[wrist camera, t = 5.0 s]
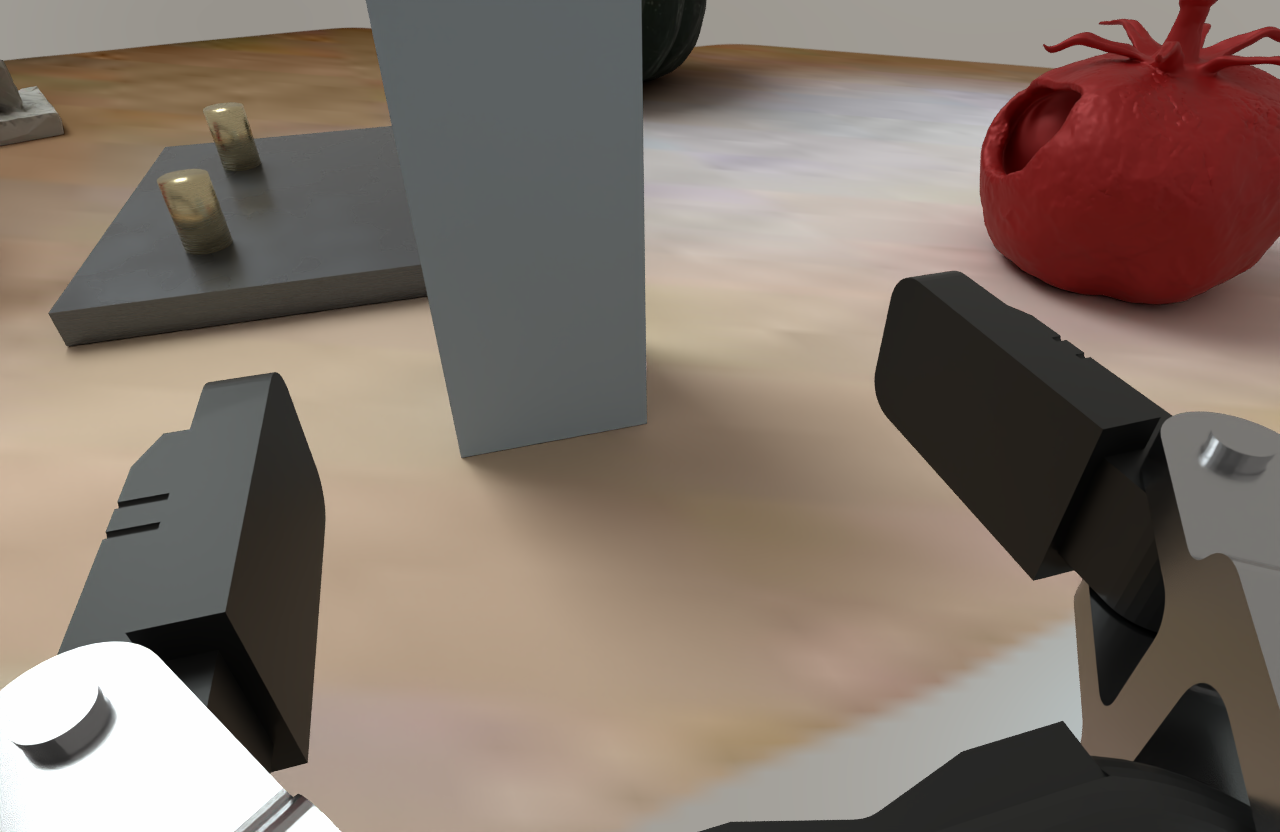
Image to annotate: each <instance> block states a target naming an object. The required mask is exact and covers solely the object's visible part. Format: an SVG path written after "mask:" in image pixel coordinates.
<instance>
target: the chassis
mask: <svg viewBox="0 0 1280 832" xmlns="http://www.w3.org/2000/svg"><path fill="white" fill-rule="evenodd" d="M203 112H204V114H205V117H206V120H207V123H208V126H209V129H210V131H211V134H212V137H213V140H214V143H205V144H194V145H184V146H173V147H165V148H164V150H163V151H162V152H161V154H160V155H159V157H158V158H157V160H156V161H155V162H154V164H153V165H152V167H151V168H150V170H149V171H148V172H147V174H146V175H145V177H144V178H143V179H142V181H141V182H140V184H139V185H138V187H137V188H136V189H135V191H134V192H133V194H132V195H131V197H130V198H129V199H128V201H127V202H126V204H125V205H124V206H123V208H122V209H121V211H120V212H119V214H118V215H117V216H116V218H115V219H114V221H113V222H112V224H111V225H110V226H109V228H108V229H107V231H106V232H105V234H104V235H103V236H102V238H101V239H100V241H99V242H98V243H97V245H96V246H95V248H94V249H93V251H92V252H91V253H90V255H89V256H88V258H87V259H86V261H85V262H84V263H83V265H82V266H81V268H80V269H79V270H78V272H77V273H76V275H75V276H74V278H73V279H72V280H71V282H70V283H69V285H68V286H67V288H66V289H65V290H64V292H63V293H62V295H61V296H60V297H59V299H58V300H57V302H56V303H55V305H54V306H53V307H52V309H51V310H50V312H49V313H48V314H49V315H50V317H51V319H52V321H53V323H54V324H55V326H56V328H57V330H58V332H59V333H60V335H61V337H62V339H63V340H64V342H65V344H66V346H72V345H79V344H86V343H93V342H100V341H107V340H115V339H122V338H129V337H136V336H143V335H150V334H158V333H165V332H172V331H179V330H186V329H193V328H200V327H208V326H215V325H222V324H229V323H236V322H243V321H250V320H258V319H265V318H272V317H279V316H286V315H293V314H301V313H308V312H315V311H322V310H329V309H336V308H343V307H351V306H358V305H365V304H372V303H379V302H386V301H393V300H401V299H408V298H415V297H422V296H427V291H426V286H425V281H424V277H423V272H422V267H421V262H420V257H419V253H418V248H417V243H416V238H415V233H414V229H413V224H412V219H411V214H410V210H409V205H408V200H407V195H406V190H405V186H404V181H403V176H402V171H401V166H400V162H399V157H398V152H397V147H396V142H395V138H394V133H393V128H392V126H388V127H377V128H366V129H355V130H345V131H334V132H323V133H312V134H302V135H291V136H280V137H269V138H259V139H254V138H253V135H252V132H251V129H250V125H249V122H248V119H247V116H246V113H245V110H244V107H243V104H241V103H221V104H215V105H211V106H208V107H206V108H204V109H203Z"/></svg>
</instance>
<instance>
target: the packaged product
mask: <svg viewBox="0 0 1280 832" xmlns="http://www.w3.org/2000/svg"><path fill="white" fill-rule="evenodd" d="M61 134H64V130H63V125H62V120H61V118H60V116H59V114H58V113H57V112H56V110H55V109H54V108H53V106H52V105H51V104H50V103H49V102H48V101H47V99H46V98H45V97H44V95H43V94H42V93H41V92H40V90H39V89H38V88H37V86H36V87H30V88H23V89H21V90H19V91H18V90H17V87H16V86H15V85H14V83H13V80H12V78H11V75H10V73H9V71H8V69H7V67H6V65H5V63H4V62H3V60H0V146H2V145H8V144H13V143H19V142H24V141H29V140H35V139H40V138H46V137H51V136H56V135H61Z"/></svg>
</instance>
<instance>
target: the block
mask: <svg viewBox="0 0 1280 832" xmlns="http://www.w3.org/2000/svg"><path fill="white" fill-rule="evenodd" d="M366 3H367V8H368V13H369V18H370V23H371V28H372V32H373V37H374V42H375V47H376V52H377V56H378V61H379V66H380V71H381V75H382V80H383V85H384V90H385V95H386V99H387V104H388V109H389V114H390V119H391V123H392V128H393V133H394V138H395V142H396V147H397V152H398V157H399V162H400V166H401V171H402V176H403V181H404V186H405V190H406V195H407V200H408V205H409V210H410V214H411V219H412V224H413V229H414V233H415V238H416V243H417V248H418V253H419V257H420V262H421V267H422V272H423V277H424V281H425V286H426V291H427V296H428V300H429V305H430V310H431V315H432V320H433V324H434V329H435V334H436V339H437V344H438V348H439V353H440V358H441V363H442V368H443V372H444V377H445V382H446V387H447V391H448V396H449V401H450V406H451V411H452V415H453V420H454V425H455V430H456V435H457V439H458V444H459V449H460V454H461V458H463V457H468V456H474V455H479V454H485V453H490V452H495V451H501V450H506V449H512V448H517V447H522V446H528V445H533V444H539V443H544V442H549V441H555V440H560V439H565V438H571V437H576V436H582V435H587V434H592V433H598V432H603V431H609V430H614V429H619V428H625V427H630V426H636V425H641V424H646V423H647V396H646V318H645V240H644V163H643V85H642V7H641V0H366Z"/></svg>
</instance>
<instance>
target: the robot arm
mask: <svg viewBox="0 0 1280 832" xmlns="http://www.w3.org/2000/svg"><path fill="white" fill-rule="evenodd" d="M1060 337H1061V336H1060V335H1059V334H1057V333H1056V332H1054V331H1053V330H1052V329H1050V328H1049V327H1047V326H1046V325H1045V324H1043V323H1042V322H1040V321H1039V320H1038V319H1036V318H1035V317H1033V316H1032V315H1030V314H1027V313H1025V312H1022V311H1020V310H1018V309H1015V308H1013V307H1010V306H1008V305H1006V304H1005V303H1003V302H1002V301H1000V300H999V299H998V298H996V297H995V296H994V295H992V294H991V293H989V292H988V291H987V290H985V289H984V288H983V287H981V286H980V285H978V284H977V283H976V282H974V281H973V280H972V279H970V278H969V277H967V276H966V275H965V274H963V273H961V272H958V271H949V272H942V273H935V274H929V275H922V276H916V277H909V278H905V279H902V280H901V281H900V282H899V283H898V284H897V285H896V287H895V288H894V290H893V293H892V296H891V300H890V305H889V310H888V314H887V319H886V324H885V328H884V333H883V338H882V343H881V347H880V352H879V357H878V361H877V366H876V371H875V391H876V396H877V400H878V402H879V405H880V407H881V409H882V411H883V413H884V414H885V415H886V417H887V418H888V419H889V420H890V421H891V422H892V423H893V425H894V426H895V427H896V428H897V429H898V430H899V431H900V432H901V433H902V435H903V436H904V437H905V438H906V439H907V440H908V441H909V442H910V444H911V445H912V446H913V447H914V448H915V449H916V450H917V451H918V452H919V454H920V455H921V456H922V457H923V458H924V459H925V460H926V461H927V462H928V464H929V465H930V466H931V467H932V468H933V469H934V470H935V471H936V473H937V474H938V475H939V476H940V477H941V478H942V479H943V480H944V481H945V483H946V484H947V485H948V486H949V487H950V488H951V489H952V490H953V492H954V493H955V494H956V495H957V496H958V497H959V498H960V499H961V500H962V502H963V503H964V504H965V505H966V506H967V507H968V508H969V509H970V510H971V512H972V513H973V514H974V515H975V516H976V517H977V518H978V519H979V521H980V522H981V523H982V524H983V525H984V526H985V527H986V528H987V529H988V531H989V532H990V533H991V534H992V535H993V536H994V537H995V538H996V540H997V541H998V542H999V543H1000V544H1001V545H1002V546H1003V547H1004V548H1005V550H1006V551H1007V552H1008V553H1009V554H1010V555H1011V556H1012V557H1013V558H1014V560H1015V561H1016V562H1017V563H1018V564H1019V565H1020V566H1021V567H1022V569H1023V570H1024V571H1025V572H1026V573H1027V574H1028V575H1029V576H1030V577H1031V579H1032V580H1033V581H1034V580H1038V579H1042V578H1046V577H1050V576H1054V575H1058V574H1061V573H1065V572H1069V571H1073V570H1075V571H1076V572H1077V573H1078V574H1079V575H1080V576H1081V578H1082V581H1081V583H1080V584H1079V586H1078V588H1077V590H1076V593H1075V596H1074V612H1075V625H1076V638H1077V651H1078V664H1079V678H1080V691H1081V704H1082V718H1083V729H1082V738H1081V743H1080V742H1079V741H1078V739H1077V738H1076V737H1075V736H1074V734H1073V733H1072V732H1071V731H1070V730H1069V728H1068V727H1067V726H1066V724H1065V723H1064V722H1063V721H1061V722H1058V723H1055V724H1051V725H1048V726H1045V727H1042V728H1038V729H1035V730H1032V731H1028V732H1025V733H1022V734H1019V735H1015V736H1012V737H1009V738H1005V739H1002V740H999V741H995V742H992V743H989V744H986V745H982V746H979V747H976V748H972V749H969V750H966V751H963V752H961V753H960V754H958V755H957V756H955V757H954V758H953V759H951V760H950V761H948V762H947V763H946V764H944V765H943V766H942V767H940V768H939V769H937V770H936V771H935V772H933V773H932V774H930V775H929V776H928V777H926V778H925V779H923V780H922V781H921V782H919V783H918V784H916V785H915V786H914V787H912V788H911V789H910V790H908V791H907V792H905V793H904V794H903V795H901V796H900V797H899V798H897V799H896V800H894V801H893V802H891V803H890V804H889V805H887V806H886V807H885V808H883V809H882V810H880V811H879V812H877V813H876V814H874V815H872V816H870V817H867V818H863V819H857V820H813V821H760V822H759V821H757V822H756V821H755V822H729V823H726V824H723V825H720V826H716V827H713V828H709V829H706V830H703V831H700V832H1280V434H1278V433H1276V432H1275V431H1272V430H1270V429H1268V428H1266V427H1264V426H1262V425H1259V424H1256V423H1254V422H1251V421H1248V420H1245V419H1242V418H1238V417H1235V416H1230V415H1226V414H1220V413H1213V412H1186V413H1180V414H1177V415H1174V416H1172V415H1170V414H1169V413H1168V412H1166V411H1165V410H1163V409H1162V408H1161V407H1159V406H1158V405H1156V404H1155V403H1154V402H1152V401H1151V400H1150V399H1148V398H1147V397H1145V396H1144V395H1143V394H1141V393H1140V392H1138V391H1137V390H1136V389H1134V388H1133V387H1131V386H1130V385H1129V384H1127V383H1126V382H1124V381H1123V380H1122V379H1120V378H1119V377H1117V376H1116V375H1115V374H1113V373H1112V372H1110V371H1109V370H1108V369H1106V368H1105V367H1103V366H1102V365H1101V364H1099V363H1098V362H1096V361H1095V360H1094V359H1092V358H1091V357H1089V358H1085V357H1084V352H1082V351H1081V350H1080V349H1078V348H1077V347H1075V346H1074V345H1073V344H1071V343H1070V342H1068V341H1067V340H1064V341H1061V339H1060ZM118 505H119V509H115V510H114V512H113V515H112V517H111V520H110V522H109V525H108V527H107V530H106V534H107V539H104V540H102V543H101V545H100V548H99V550H98V553H97V555H96V558H95V560H94V563H93V565H92V568H91V570H90V573H89V576H88V578H87V581H86V583H85V586H84V588H83V591H82V593H81V596H80V598H79V601H78V604H77V606H76V609H75V611H74V614H73V616H72V619H71V621H70V624H69V626H68V629H67V631H66V634H65V637H64V639H63V642H62V644H61V647H60V649H59V652H58V654H57V656H55V657H53V658H51V659H49V660H47V661H44V662H42V663H41V664H39V665H37V666H35V667H34V668H32V669H30V670H28V671H27V672H25V673H24V674H22V675H21V676H19V677H18V678H17V679H15V680H14V681H12V682H11V683H9V684H8V685H7V686H6V687H5V688H3V689H2V690H1V691H0V832H341V831H340V830H339V829H338V828H337V827H336V826H335V825H334V824H333V823H332V822H331V821H330V820H329V819H328V818H327V817H326V816H325V815H324V814H323V813H322V812H321V811H320V810H319V809H318V808H317V807H316V806H315V805H314V804H312V803H311V802H310V801H309V800H308V799H306V798H305V797H303V796H302V795H300V794H297V795H296V796H295V797H293V796H291V795H290V794H289V793H288V792H287V791H285V790H284V789H283V788H282V787H281V786H280V785H279V783H278V782H277V781H276V780H275V779H274V778H273V777H272V776H271V775H270V773H271V772H274V771H278V770H282V769H286V768H290V767H293V766H297V765H301V764H305V763H308V750H309V737H310V723H311V710H312V696H313V683H314V669H315V656H316V643H317V629H318V616H319V602H320V589H321V575H322V562H323V548H324V535H325V504H324V496H323V491H322V486H321V481H320V478H319V474H318V471H317V468H316V465H315V463H314V460H313V457H312V454H311V452H310V449H309V446H308V443H307V441H306V438H305V435H304V432H303V430H302V427H301V424H300V421H299V419H298V416H297V413H296V410H295V408H294V405H293V402H292V399H291V397H290V394H289V391H288V389H287V386H286V384H285V382H284V380H283V378H282V377H281V376H280V374H278V373H277V372H274V373H267V374H260V375H254V376H247V377H241V378H234V379H227V380H221V381H214V382H208V383H206V384H205V386H204V388H203V390H202V393H201V396H200V399H199V402H198V405H197V409H196V412H195V415H194V418H193V421H192V424H191V427H190V429H189V430H183V431H177V432H171V433H165V434H163V435H162V436H161V437H160V438H159V439H158V440H157V441H156V442H155V443H154V444H153V445H152V446H151V447H150V448H149V449H148V450H147V451H146V452H145V453H144V454H143V455H142V456H141V457H140V458H139V459H138V461H137V462H136V463H135V464H134V465H133V466H132V467H131V469H130V471H129V474H128V476H127V479H126V482H125V484H124V487H123V489H122V492H121V494H120V497H119V499H118Z"/></svg>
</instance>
